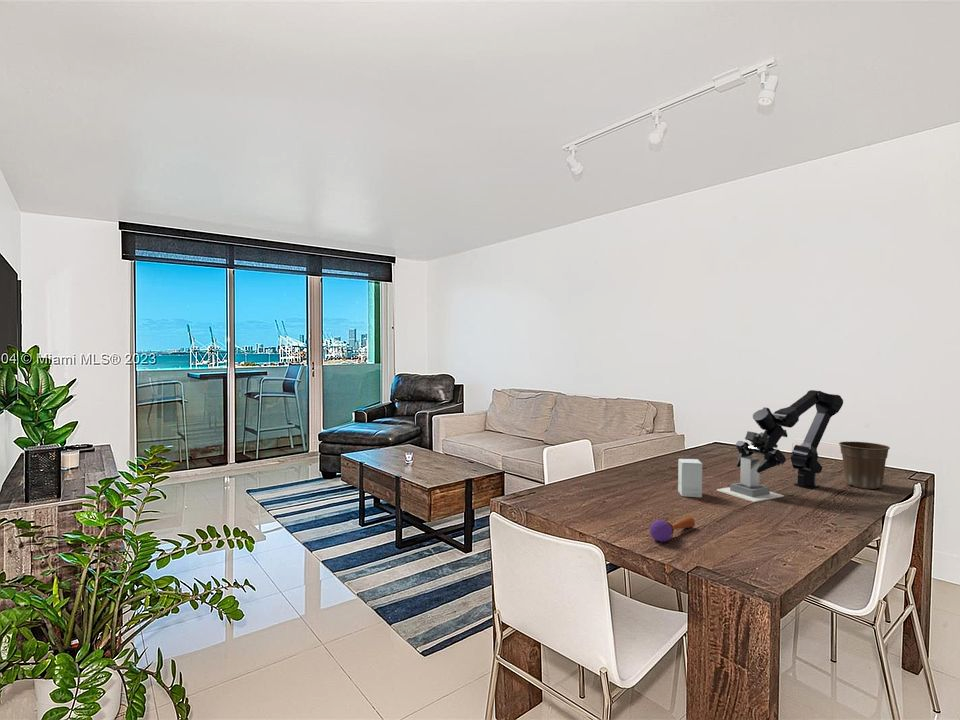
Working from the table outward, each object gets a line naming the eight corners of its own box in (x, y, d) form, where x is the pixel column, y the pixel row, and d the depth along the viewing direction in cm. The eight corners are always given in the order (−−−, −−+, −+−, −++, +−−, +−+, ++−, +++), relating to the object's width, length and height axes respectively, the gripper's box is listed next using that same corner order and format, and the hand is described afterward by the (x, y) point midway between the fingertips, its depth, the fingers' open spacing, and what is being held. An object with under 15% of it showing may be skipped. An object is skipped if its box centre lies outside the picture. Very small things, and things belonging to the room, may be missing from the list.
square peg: (749, 490, 199) (749, 456, 199) (759, 493, 195) (759, 458, 194) (740, 491, 198) (740, 457, 197) (749, 494, 193) (750, 459, 193)
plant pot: (832, 478, 217) (833, 439, 217) (879, 481, 212) (880, 442, 212) (845, 488, 202) (846, 447, 202) (896, 492, 197) (897, 450, 196)
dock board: (745, 487, 207) (745, 478, 207) (783, 498, 193) (784, 488, 193) (716, 492, 200) (716, 482, 200) (754, 504, 186) (754, 494, 186)
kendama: (701, 517, 159) (667, 527, 146) (696, 535, 160) (662, 547, 147) (682, 508, 164) (648, 518, 150) (678, 526, 164) (643, 537, 151)
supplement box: (702, 497, 191) (702, 463, 191) (681, 496, 193) (681, 462, 192) (698, 492, 198) (698, 459, 198) (677, 490, 200) (678, 458, 199)
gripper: (738, 420, 206) (716, 450, 202) (780, 427, 188) (756, 460, 185) (754, 438, 209) (732, 468, 205) (796, 447, 191) (772, 480, 188)
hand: (747, 469), depth 196 cm, fingers open, 9 cm apart
